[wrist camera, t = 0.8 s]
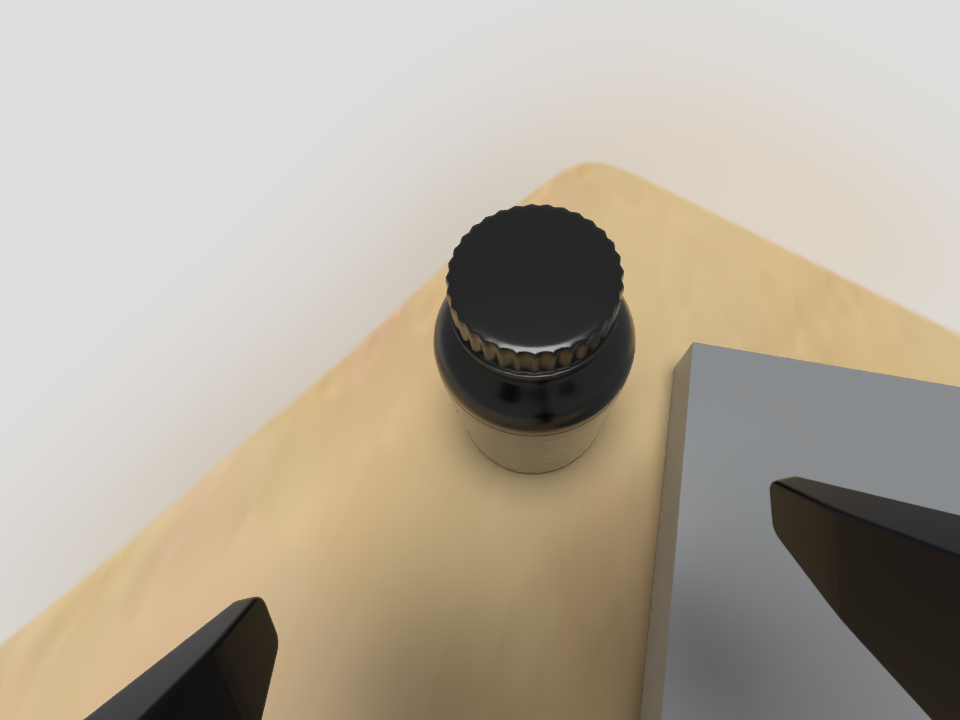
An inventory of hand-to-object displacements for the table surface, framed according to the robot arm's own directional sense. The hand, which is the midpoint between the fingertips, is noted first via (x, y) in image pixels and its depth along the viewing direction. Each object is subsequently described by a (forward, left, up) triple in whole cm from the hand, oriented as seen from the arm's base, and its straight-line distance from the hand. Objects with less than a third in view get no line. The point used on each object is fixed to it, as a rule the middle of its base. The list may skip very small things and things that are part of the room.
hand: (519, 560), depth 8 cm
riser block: (+3, -12, -14) cm, 18 cm away
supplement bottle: (+7, +1, -14) cm, 16 cm away
